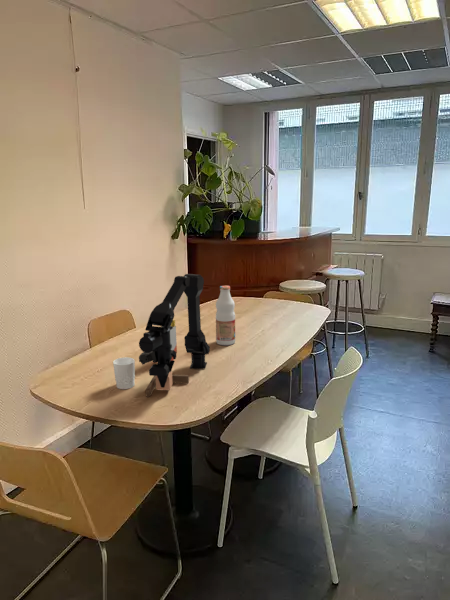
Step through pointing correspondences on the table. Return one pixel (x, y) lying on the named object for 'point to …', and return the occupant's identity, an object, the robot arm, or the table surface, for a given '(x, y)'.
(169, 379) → the light brown cube
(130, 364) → the white cup
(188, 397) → the table surface
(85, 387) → the table surface
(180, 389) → the table surface
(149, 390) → the walnut fence
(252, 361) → the table surface
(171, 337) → the french fries container
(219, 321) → the fruit juice
